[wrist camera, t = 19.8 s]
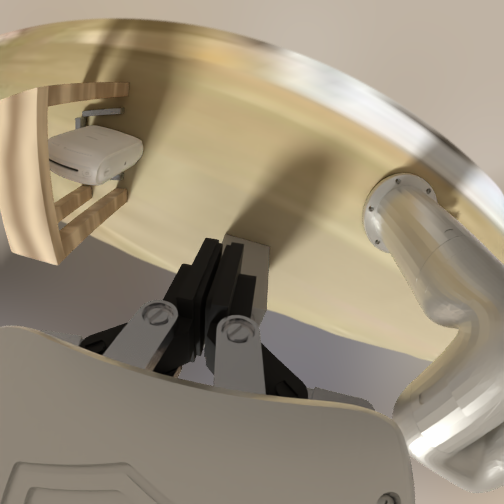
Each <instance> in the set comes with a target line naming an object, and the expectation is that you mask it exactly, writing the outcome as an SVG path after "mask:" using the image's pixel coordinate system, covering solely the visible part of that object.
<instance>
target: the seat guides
mask: <svg viewBox="0 0 504 504" xmlns="http://www.w3.org/2000/svg"><path fill="white" fill-rule="evenodd" d="M123 113H124V108H112V109H99V110H88V111H82V117H78V118H76V129H79V128H82V127H86V116H94V115H108V114H123ZM83 116H85V117H83ZM122 179H123V173H119V174H118V175H116V176H115V177H113V178H111V179H110V180H122Z"/></svg>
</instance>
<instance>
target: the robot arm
mask: <svg viewBox="0 0 504 504" xmlns="http://www.w3.org/2000/svg"><path fill="white" fill-rule="evenodd" d="M396 179H397V180H396ZM395 180H396V181H395ZM370 206H371V207H370ZM369 207H370V208H369ZM363 226H364V230H365V233H366V235H367V237H368V238H369V240H370V242H371V243H372V244H373V245H374V246H375V247H376V248H378V249H379V250H381V251H384V252H386V253H390V254H391V256H392V257H393V259H394V261H395V262H396V264H397V266H398V267H399V269H400V271H401V272H402V274H403V276H404V278H405V279H406V281H407V283H408V285H409V287H410V288H411V290H412V292H413V294H414V296H415V298H416V299H417V301H418V303H419V305H420V307H421V308H422V310H423V312H424V313H425V315H426V316H427V317H428V318H429V319H430V320H432V321H433V322H434V323H436V324H438V325H441V326H444V327H448V328H456V329H459V331H458V334H457V335H456V337H455V338H454V340H453V341H452V342H451V343H450V344H449V346H448V347H447V348H446V349H445V351H444V352H443V353H442V354H441V355H440V356H439V357H438V358H437V359H436V360H435V361H434V362H433V363H432V364H431V365H429V367H427V368H426V369H425V370H424V371H423V372H422V373H421V374H420V375H419V376H418V377H417V378H416V379H415V380H414V381H412V382H411V383H410V384H409V385H408V386H407V387H406V388H405V390H404V391H403V392H402V393H401V394H400V396H399V397H398V399H397V401H396V403H395V405H394V409H393V413H392V419H390V418H388V417H387V416H385V415H383V414H381V413H378V412H376V411H375V409H374V408H373V406H372V404H370V403H369V402H368V401H367V400H364V399H362V398H357V397H353V396H348V395H344V394H340V393H336V392H332V391H328V390H325V389H320V388H317V387H315V388H314V389H310V388H307V387H306V386H305V385H304V383H303V382H302V381H301V380H300V379H299V378H298V377H296V376H295V375H294V374H293V373H292V372H291V371H290V370H289V369H288V368H287V367H286V366H285V365H284V364H283V363H282V362H281V361H279V360H278V359H277V358H276V357H275V356H274V355H273V354H272V353H271V352H270V351H269V350H268V349H267V348H266V347H265V346H264V345H263V344H262V343H261V340H260V330H259V327H258V325H257V324H256V323H255V322H254V321H253V320H252V319H251V312H252V306H253V299H254V292H255V285H256V278H257V276H252V275H246V274H241V266H242V259H243V251H244V244H241V243H235V242H232V243H231V245H226V247H225V249H224V252H223V255H222V250H223V244H221V243H219V240H217V239H211V238H205V240H204V242H203V244H202V246H201V248H200V250H199V252H198V254H197V256H196V258H195V260H194V262H193V264H192V265H188V264H182V265H181V267H180V269H179V271H178V273H177V274H176V276H175V278H174V280H173V282H172V284H171V286H170V287H169V289H168V291H167V293H166V295H165V297H164V299H163V300H153V301H150V302H147V303H145V304H144V305H143V306H142V307H140V309H139V310H138V311H137V312H136V314H135V315H134V316H133V317H132V318H131V320H130V321H129V322H128V323H125V324H122V325H119V326H116V327H114V328H111V329H108V330H105V331H102V332H99V333H96V334H93V335H90V336H89V337H86V338H85V339H83V338H82V336H78V335H70V334H64V333H58V332H52V331H47V330H41V331H38V330H35V329H31V328H27V327H22V326H3V327H0V504H415V492H414V481H413V473H412V466H411V460H410V456H409V455H411V456H412V457H413V458H414V459H415V460H416V461H418V462H419V463H421V464H422V465H424V466H425V467H427V468H428V469H430V470H431V471H433V472H435V473H436V474H438V475H440V476H441V477H443V478H445V479H446V480H448V481H450V482H451V483H453V484H455V485H457V486H458V487H460V488H462V489H464V490H466V491H469V492H472V493H483V492H488V491H491V490H494V489H496V488H499V487H501V486H503V485H504V264H503V263H502V262H500V261H499V260H498V259H497V258H496V257H495V256H494V255H493V254H492V253H491V252H490V251H489V250H488V249H487V248H486V247H485V246H484V245H483V244H482V243H481V242H480V241H479V240H478V239H477V238H476V237H475V236H474V235H473V234H472V233H471V232H470V231H469V230H468V229H466V228H465V227H464V226H463V225H462V224H461V223H460V222H459V221H458V220H457V219H455V218H454V217H453V216H452V215H451V214H450V213H449V212H447V211H446V210H445V209H444V208H443V207H441V206H440V205H439V204H438V201H437V198H436V194H435V192H434V190H433V188H432V187H431V186H430V185H429V183H427V182H426V181H425V180H424V179H422V178H421V177H419V176H417V175H414V174H411V173H397V174H394V175H391V176H388V177H387V178H385V179H383V180H382V181H381V182H379V183H378V184H377V185H376V186H375V187H374V188H373V190H372V191H371V192H370V194H369V196H368V198H367V199H366V202H365V205H364V209H363ZM204 344H205V353H204V356H205V357H206V365H207V367H208V368H209V370H210V371H211V372H212V373H213V375H214V386H211V385H205V384H201V383H196V382H192V381H187V380H183V379H179V378H178V376H179V374H180V373H181V370H182V365H184V364H186V363H188V362H194V361H195V358H196V355H198V356H201V354H202V350H203V347H204Z"/></svg>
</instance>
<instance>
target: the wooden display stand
mask: <svg viewBox="0 0 504 504" xmlns="http://www.w3.org/2000/svg"><path fill="white" fill-rule="evenodd" d="M128 90H129V83H126V82H97V83H75V84H62V85H52V86H43V87H37V88H33V89H30V90H27V91H24V92H21V93H18V94H15V95H12V96H10V97H7V98H4V99H2V100H0V210H1V215H2V218H3V223H4V227H5V231H6V234H7V238H8V242H9V245H10V248H11V251H12V252H13V253H16V254H19V255H23V256H26V257H30V258H33V259H37V260H40V261H44V262H47V263H51V264H54V265H59V264H60V263H61V262H62V261H63V260H64V259H65V258H66V257H67V256H68V255H69V254H70V253H71V251H73V250H74V249H75V248H76V247H77V246H78V245H79V244H80V243H81V242H82V241H83V240H84V239H85V238H86V237H87V236H88V235H90V234H91V233H92V232H93V231H94V230H95V229H96V228H97V227H98V226H99V225H100V224H102V223H103V222H104V221H105V220H106V219H107V218H108V217H110V216H111V215H112V214H113V213H114V212H115V211H117V210H118V209H119V208H120V207H121V206H122V205H124V204H125V203H126V202H127V189H119V188H115V189H114V190H113V191H111V192H110V193H108V194H107V195H105V196H104V197H103V198H101V199H100V200H98V201H97V202H96V203H94V204H93V205H92V206H90V207H89V208H88V209H86V210H85V211H84V212H82V213H81V214H80V215H79V216H77V217H76V218H75V219H73V220H72V221H71V222H70V223H68V224H67V225H66V226H65V227H64V228H62V229H61V230H60V231H59V228H58V223H59V222H60V221H61V220H62V219H64V218H65V217H66V216H68V215H69V214H70V213H72V212H73V211H74V210H76V209H77V208H78V207H80V206H81V205H83V204H84V203H85V202H87V201H88V200H90V199H91V198H92V193H91V186H80V187H79V188H77V189H76V190H74V191H72V192H71V193H69V194H68V195H66V196H65V197H63V198H61V199H60V200H58V201H57V202H55V203H54V199H53V192H52V184H51V176H50V165H49V152H48V127H47V111H48V106H53V105H58V104H64V103H70V102H76V101H83V100H91V99H100V98H110V97H122V96H128Z"/></svg>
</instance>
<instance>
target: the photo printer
mask: <svg viewBox="0 0 504 504" xmlns="http://www.w3.org/2000/svg"><path fill="white" fill-rule="evenodd" d="M48 152H49V165H50V171H52V172H54V173H55V174H57V175H59V176H62V177H63V178H66V179H69V180H72V181H75V182H78V183H82V184H87V185H102V184H104V183H105V182H107V181H108V180H110V179H111V178H113V177H115V176H116V175H118V174H119V173H121V172H123V171H125V170H126V169H128V168H130V167H131V166H133V165H135V164H136V161H138V160H139V159H140V158H141V156H142V154H143V144H142V141H141V140H140V139H138V138H136V137H133V136H131V135H128V134H125V133H122V132H119V131H116V130H113V129H109V128H105V127H101V126H96V125H90V126H86V127H82V128H79V129H75V130H72V131H69V132H66V133H63V134H60V135H57V136H54V137H51V138H50V139H48Z"/></svg>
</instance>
